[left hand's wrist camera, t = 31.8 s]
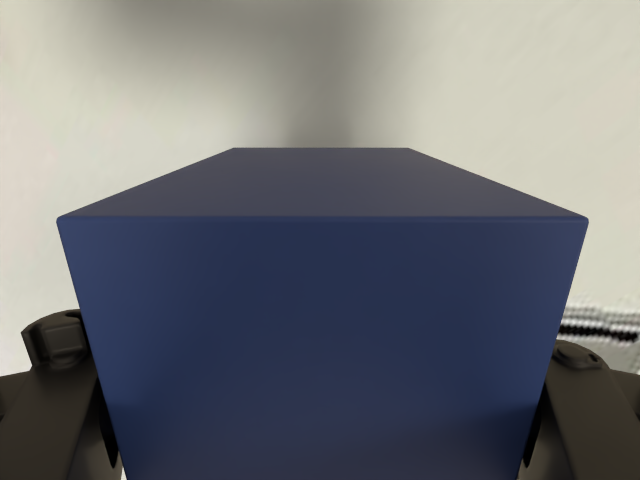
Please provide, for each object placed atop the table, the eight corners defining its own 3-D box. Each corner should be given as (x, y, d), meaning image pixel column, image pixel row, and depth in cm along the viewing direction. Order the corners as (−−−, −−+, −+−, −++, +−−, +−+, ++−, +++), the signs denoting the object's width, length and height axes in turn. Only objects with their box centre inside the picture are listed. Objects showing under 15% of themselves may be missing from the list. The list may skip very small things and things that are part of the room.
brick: (247, 334, 17) (159, 605, 8) (232, 147, 14) (51, 217, 5) (393, 334, 17) (483, 605, 8) (409, 147, 14) (592, 217, 5)
